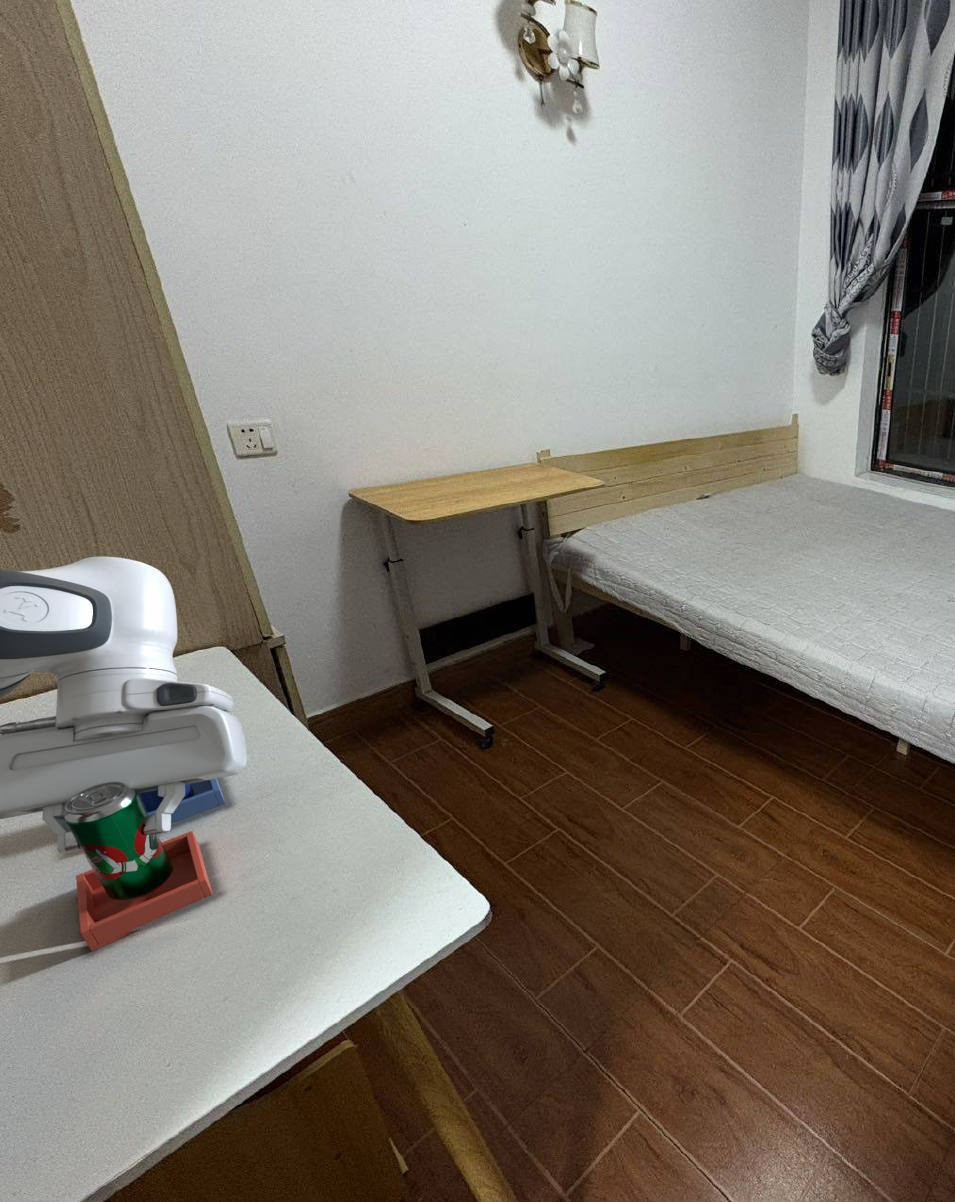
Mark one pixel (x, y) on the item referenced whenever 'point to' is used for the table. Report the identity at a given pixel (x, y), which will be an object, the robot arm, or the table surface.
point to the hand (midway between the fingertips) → (116, 841)
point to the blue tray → (197, 800)
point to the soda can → (118, 840)
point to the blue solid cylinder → (160, 798)
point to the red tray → (118, 917)
